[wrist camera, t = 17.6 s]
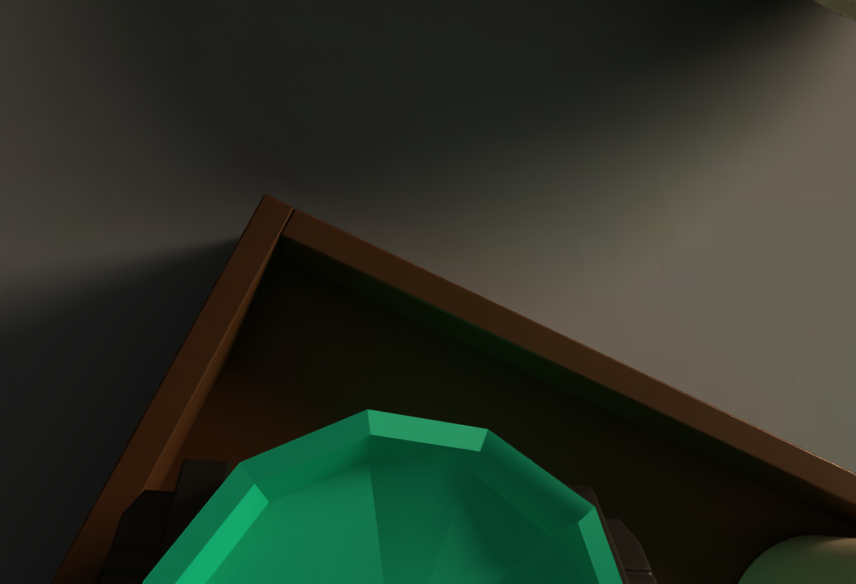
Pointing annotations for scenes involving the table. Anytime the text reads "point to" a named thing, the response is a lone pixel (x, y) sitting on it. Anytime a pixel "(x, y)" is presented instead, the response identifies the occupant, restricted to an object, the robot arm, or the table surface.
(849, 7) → the bowl
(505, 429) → the tray
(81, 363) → the table surface
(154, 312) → the table surface
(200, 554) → the candle
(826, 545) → the matching candles
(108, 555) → the robot arm
